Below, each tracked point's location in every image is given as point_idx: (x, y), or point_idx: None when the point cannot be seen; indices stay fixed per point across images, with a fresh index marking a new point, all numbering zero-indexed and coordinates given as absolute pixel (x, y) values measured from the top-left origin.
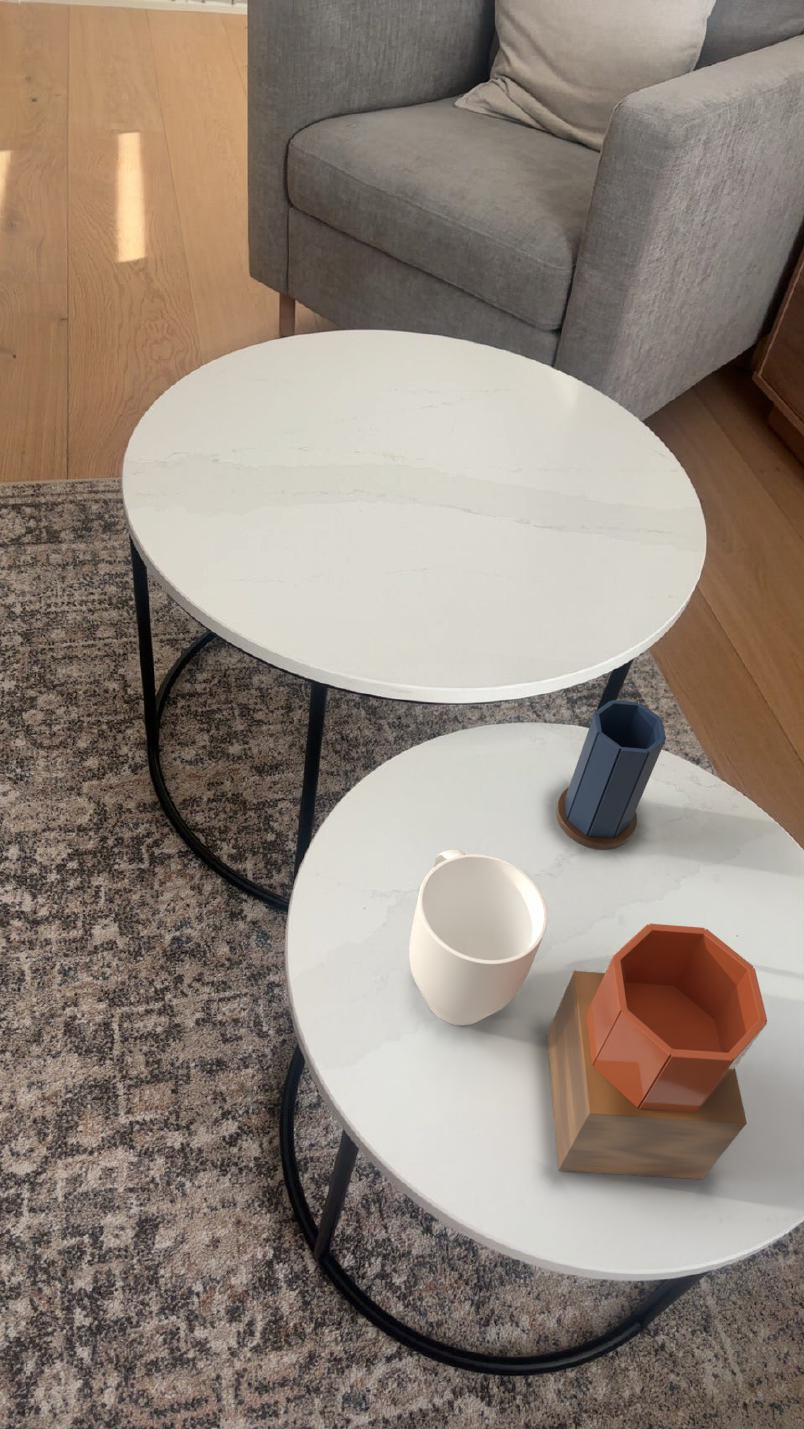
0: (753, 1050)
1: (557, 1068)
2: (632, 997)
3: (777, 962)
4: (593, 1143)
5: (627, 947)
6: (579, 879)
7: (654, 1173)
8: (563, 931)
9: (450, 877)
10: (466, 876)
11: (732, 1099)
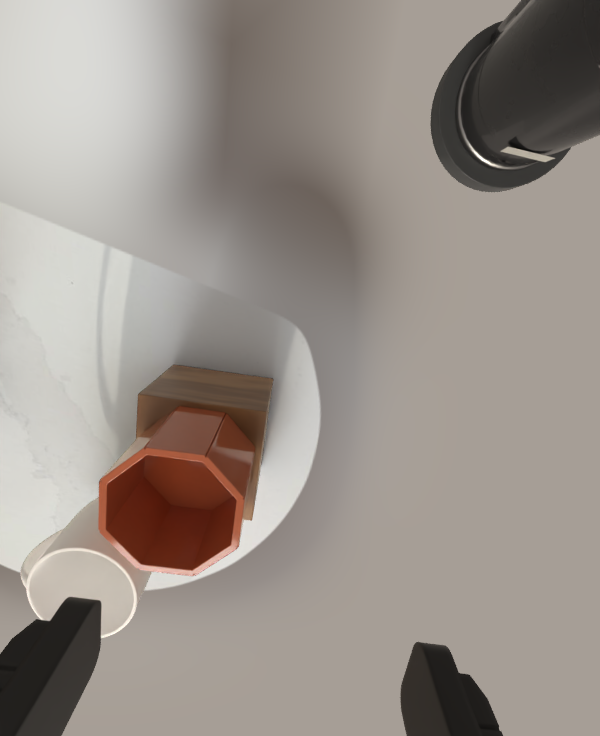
0: (179, 307)
1: None
2: (158, 475)
3: (96, 255)
4: (258, 479)
5: (127, 555)
6: (28, 401)
7: (268, 412)
8: (80, 424)
9: (52, 594)
10: (49, 579)
11: (246, 416)
